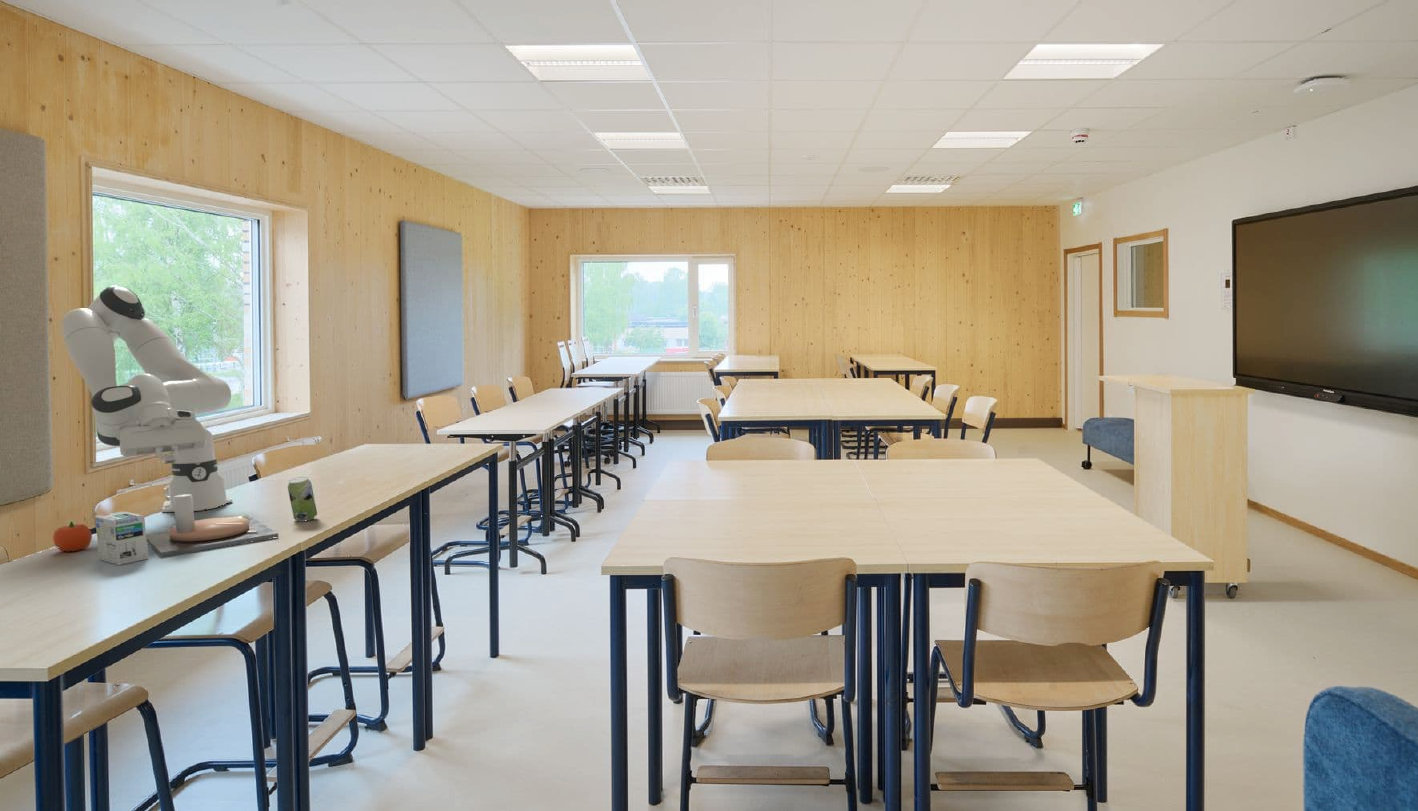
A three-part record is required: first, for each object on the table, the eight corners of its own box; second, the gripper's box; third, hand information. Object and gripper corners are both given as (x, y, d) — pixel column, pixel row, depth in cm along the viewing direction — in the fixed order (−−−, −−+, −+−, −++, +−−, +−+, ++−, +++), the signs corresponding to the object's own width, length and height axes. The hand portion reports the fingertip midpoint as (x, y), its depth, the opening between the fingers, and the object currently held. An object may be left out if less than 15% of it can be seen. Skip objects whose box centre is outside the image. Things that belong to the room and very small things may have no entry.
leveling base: (143, 538, 234) (142, 528, 234) (252, 521, 250) (252, 512, 250) (161, 557, 214) (160, 546, 214) (278, 537, 230) (277, 527, 230)
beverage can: (321, 517, 254) (318, 475, 253) (307, 523, 246) (304, 480, 245) (300, 517, 254) (297, 475, 253) (285, 523, 247) (282, 480, 246)
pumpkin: (99, 548, 225) (96, 519, 224) (63, 556, 218) (60, 526, 217) (83, 545, 229) (81, 516, 228) (48, 552, 222) (45, 523, 221)
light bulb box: (149, 559, 213) (145, 514, 212) (118, 566, 207) (113, 520, 206) (128, 553, 219) (124, 509, 218) (97, 560, 213) (93, 515, 212)
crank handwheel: (154, 542, 223) (150, 498, 222) (194, 525, 241) (190, 485, 240) (227, 540, 223) (223, 496, 222) (261, 523, 241) (258, 483, 240)
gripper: (113, 419, 236) (124, 459, 230) (200, 411, 250) (213, 449, 243) (112, 435, 240) (123, 475, 234) (198, 426, 253) (210, 464, 247)
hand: (170, 461), depth 239 cm, fingers closed
